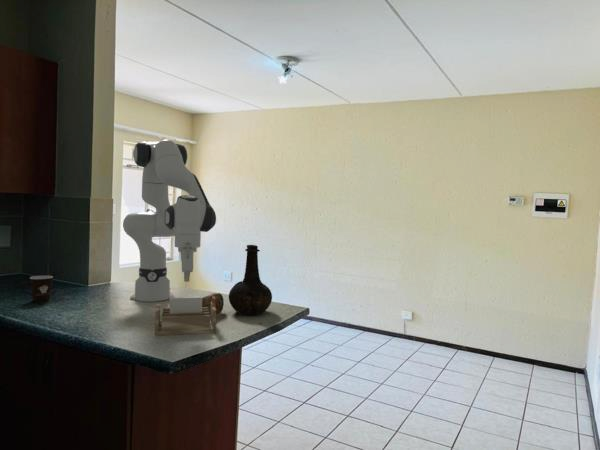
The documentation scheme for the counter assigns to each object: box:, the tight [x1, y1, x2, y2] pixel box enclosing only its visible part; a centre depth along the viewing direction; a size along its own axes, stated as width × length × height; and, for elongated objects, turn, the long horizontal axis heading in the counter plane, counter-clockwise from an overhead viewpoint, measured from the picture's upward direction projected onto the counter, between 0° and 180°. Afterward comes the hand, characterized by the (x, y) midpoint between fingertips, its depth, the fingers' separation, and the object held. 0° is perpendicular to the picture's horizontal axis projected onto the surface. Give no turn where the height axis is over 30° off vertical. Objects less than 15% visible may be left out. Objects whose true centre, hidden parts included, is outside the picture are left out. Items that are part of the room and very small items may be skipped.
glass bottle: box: [228, 244, 273, 316], centre depth 184 cm, size 18×18×28 cm
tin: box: [202, 292, 225, 316], centre depth 177 cm, size 15×3×8 cm, turn 160°
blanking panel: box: [169, 295, 203, 313], centre depth 158 cm, size 2×11×10 cm, turn 105°
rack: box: [154, 296, 217, 336], centre depth 158 cm, size 13×20×11 cm, turn 105°
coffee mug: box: [19, 275, 54, 303], centre depth 192 cm, size 12×9×10 cm
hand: (186, 281), depth 158 cm, fingers closed
